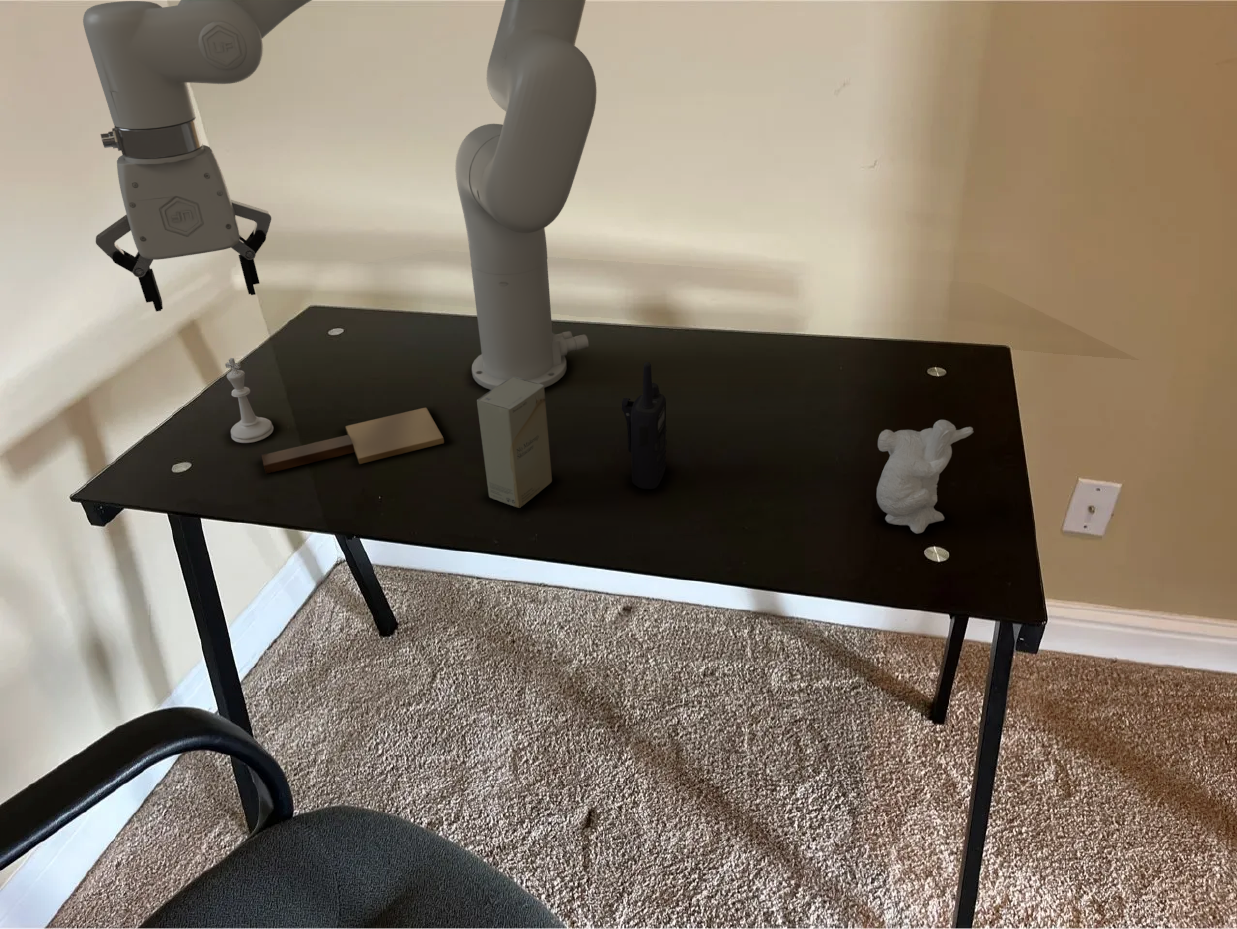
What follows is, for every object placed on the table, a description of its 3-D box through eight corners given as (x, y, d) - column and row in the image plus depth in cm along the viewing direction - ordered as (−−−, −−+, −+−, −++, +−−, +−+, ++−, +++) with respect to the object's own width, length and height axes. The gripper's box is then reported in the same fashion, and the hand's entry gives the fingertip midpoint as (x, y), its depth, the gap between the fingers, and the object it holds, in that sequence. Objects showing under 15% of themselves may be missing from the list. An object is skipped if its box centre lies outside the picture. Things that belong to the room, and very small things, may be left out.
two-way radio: (656, 495, 99) (656, 371, 91) (617, 488, 100) (613, 366, 92) (669, 467, 103) (670, 346, 95) (631, 461, 104) (629, 342, 96)
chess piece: (260, 444, 109) (238, 370, 104) (223, 441, 110) (199, 367, 105) (281, 423, 113) (261, 350, 108) (245, 420, 114) (223, 347, 109)
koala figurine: (955, 510, 95) (977, 410, 89) (948, 548, 90) (971, 446, 84) (872, 494, 98) (887, 396, 91) (861, 530, 93) (877, 429, 86)
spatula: (427, 412, 115) (425, 404, 114) (444, 443, 109) (443, 434, 108) (260, 451, 108) (258, 443, 108) (269, 487, 102) (266, 478, 101)
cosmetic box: (519, 510, 97) (509, 411, 90) (486, 498, 99) (474, 400, 93) (554, 480, 102) (546, 384, 95) (521, 469, 104) (512, 374, 97)
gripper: (63, 160, 87) (120, 326, 96) (254, 137, 92) (291, 296, 102) (66, 141, 92) (120, 300, 102) (246, 121, 98) (282, 273, 108)
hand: (205, 298), depth 102 cm, fingers open, 9 cm apart
